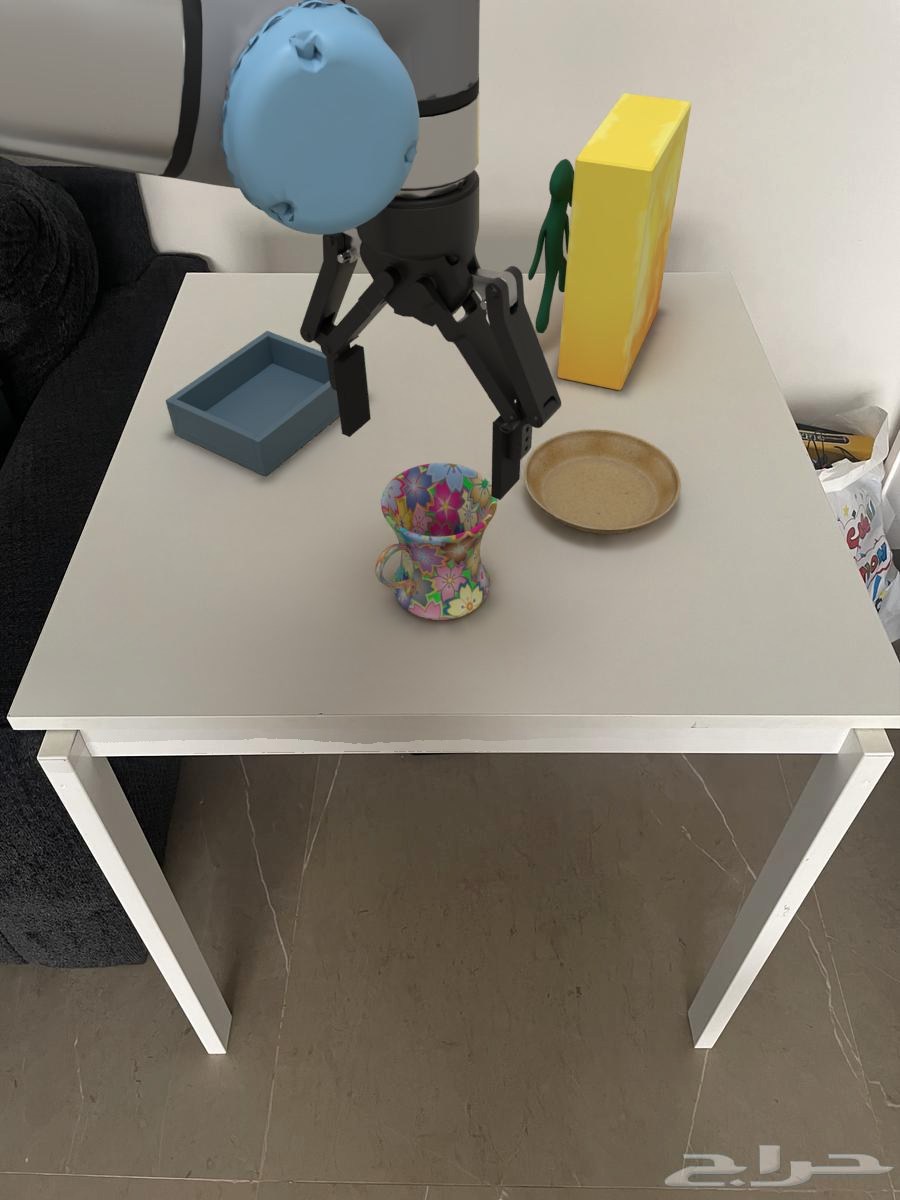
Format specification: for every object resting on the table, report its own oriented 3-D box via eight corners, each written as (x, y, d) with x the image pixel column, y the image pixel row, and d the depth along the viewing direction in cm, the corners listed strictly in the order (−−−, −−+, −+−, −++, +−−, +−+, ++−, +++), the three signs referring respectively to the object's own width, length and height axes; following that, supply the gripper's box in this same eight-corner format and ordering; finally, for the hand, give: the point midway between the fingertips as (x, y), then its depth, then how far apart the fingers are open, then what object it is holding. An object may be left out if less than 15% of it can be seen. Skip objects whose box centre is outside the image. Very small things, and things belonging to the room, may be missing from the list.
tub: (174, 434, 99) (165, 400, 96) (272, 363, 108) (267, 330, 104) (265, 476, 94) (258, 442, 91) (360, 399, 103) (357, 365, 100)
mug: (436, 539, 88) (434, 447, 80) (515, 585, 83) (520, 494, 76) (344, 612, 82) (332, 521, 74) (424, 666, 77) (419, 576, 70)
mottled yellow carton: (558, 294, 117) (575, 86, 100) (657, 312, 114) (692, 100, 97) (513, 369, 106) (522, 150, 89) (620, 391, 103) (652, 168, 86)
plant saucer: (634, 437, 98) (638, 416, 96) (704, 528, 88) (709, 507, 86) (500, 466, 95) (501, 446, 93) (558, 565, 85) (560, 544, 83)
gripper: (637, 195, 53) (599, 486, 68) (293, 107, 62) (329, 380, 78) (572, 251, 49) (548, 547, 64) (214, 148, 58) (269, 427, 74)
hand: (428, 456), depth 71 cm, fingers open, 13 cm apart
